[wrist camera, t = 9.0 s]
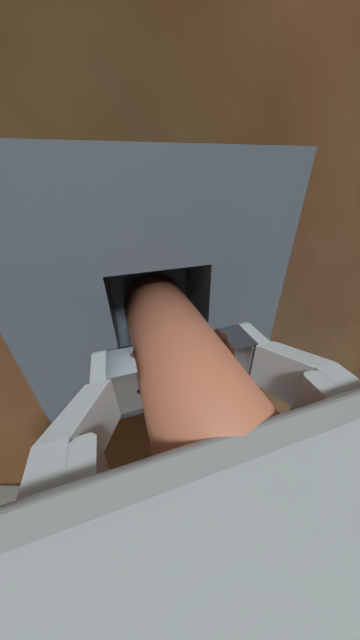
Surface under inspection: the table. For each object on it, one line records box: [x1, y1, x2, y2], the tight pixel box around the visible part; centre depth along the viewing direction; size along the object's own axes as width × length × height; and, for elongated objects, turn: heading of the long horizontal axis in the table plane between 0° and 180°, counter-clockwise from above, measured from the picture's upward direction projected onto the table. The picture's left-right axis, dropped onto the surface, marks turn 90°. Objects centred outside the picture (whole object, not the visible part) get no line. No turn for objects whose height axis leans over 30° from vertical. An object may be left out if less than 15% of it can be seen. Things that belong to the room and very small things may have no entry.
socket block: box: [0, 138, 317, 424], centre depth 13 cm, size 14×14×5 cm
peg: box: [124, 274, 280, 456], centre depth 8 cm, size 4×4×12 cm
